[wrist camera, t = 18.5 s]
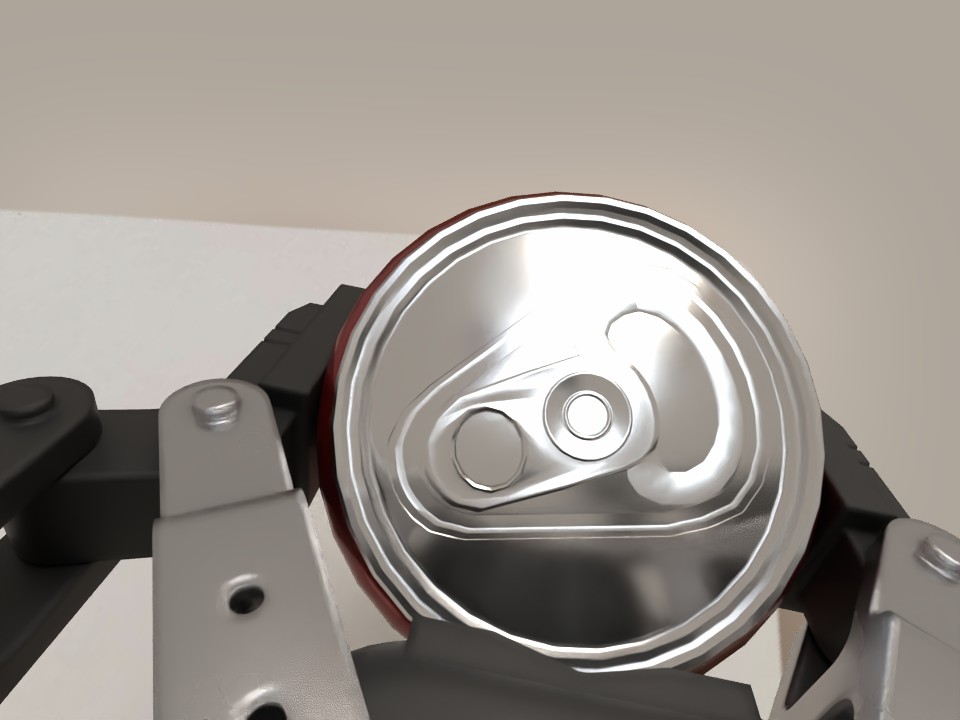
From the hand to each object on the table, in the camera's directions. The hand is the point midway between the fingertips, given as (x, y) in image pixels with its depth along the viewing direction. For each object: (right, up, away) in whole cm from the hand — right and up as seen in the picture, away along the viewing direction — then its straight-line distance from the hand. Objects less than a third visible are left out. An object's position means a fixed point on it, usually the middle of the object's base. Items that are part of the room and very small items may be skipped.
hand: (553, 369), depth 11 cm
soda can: (-1, -3, +8) cm, 9 cm away
